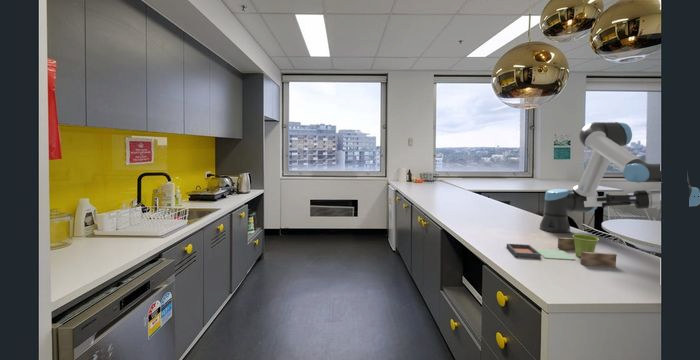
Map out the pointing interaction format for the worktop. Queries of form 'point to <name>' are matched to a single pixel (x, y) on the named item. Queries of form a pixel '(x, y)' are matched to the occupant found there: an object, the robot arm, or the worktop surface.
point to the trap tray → (523, 251)
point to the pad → (555, 254)
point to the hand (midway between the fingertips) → (585, 202)
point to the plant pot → (584, 243)
